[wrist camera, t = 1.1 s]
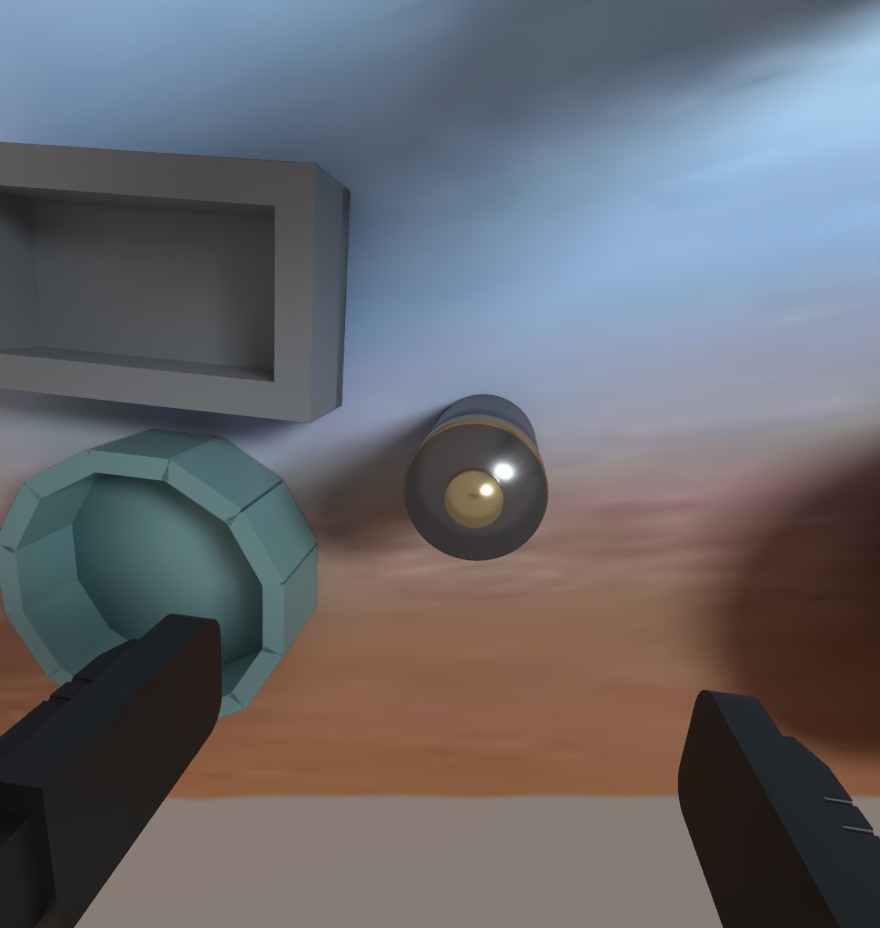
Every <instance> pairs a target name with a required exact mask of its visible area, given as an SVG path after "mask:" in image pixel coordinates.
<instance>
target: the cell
mask: <svg viewBox="0 0 880 928" xmlns="http://www.w3.org/2000/svg"><path fill="white" fill-rule="evenodd" d="M404 497H405V503H406V507H407V511H408V514H409V516H410V519H411V521H412V523H413V524H414V526H415V528H416V529H417V531H418V532H419V533H420V535H421V536H422V537H423V538H424V539H425V540H426V541H427V542H428V543H430V544H431V545H432V546H433V547H435V548H436V549H438V550H440V551H441V552H443V553H446V554H448V555H450V556H453V557H456V558H459V559H465V560H474V561H480V560H490V559H495V558H498V557H502V556H504V555H507V554H509V553H511V552H513V551H514V550H516V549H518V548H519V547H521V546H522V545H523V544H524V543H526V542H527V541H528V540H529V538H530V537H531V536H532V535H533V534H534V532H535V531H536V530H537V528H538V527H539V525H540V523H541V521H542V519H543V517H544V514H545V511H546V507H547V503H548V482H547V477H546V473H545V469H544V465H543V461H542V459H541V456H540V453H539V450H538V446H537V442H536V438H535V433H534V430H533V427H532V425H531V423H530V421H529V419H528V418H527V416H526V415H525V414H524V413H523V411H522V410H521V409H520V408H519V407H517V406H516V405H515V404H513V403H512V402H510V401H508V400H506V399H504V398H502V397H498V396H495V395H488V394H479V395H472V396H468V397H465V398H463V399H460V400H459V401H457V402H455V403H454V404H452V405H451V406H449V407H448V408H447V409H446V410H445V411H444V412H443V414H442V415H441V416H440V418H439V419H438V421H437V422H436V424H435V426H434V427H433V429H432V430H431V432H430V433H429V434H428V436H427V437H426V438H425V439H424V440H423V442H422V443H421V445H420V446H419V448H418V449H417V451H416V452H415V454H414V456H413V457H412V459H411V461H410V463H409V466H408V468H407V472H406V475H405V482H404Z"/></svg>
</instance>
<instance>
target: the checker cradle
mask: <svg viewBox="0 0 880 928" xmlns="http://www.w3.org/2000/svg"><path fill="white" fill-rule="evenodd" d="M349 200H350V190H348V189H347V188H346V187H345V186H343V185H342V184H341V183H340V182H338V181H337V180H336V179H335V178H333V177H332V176H331V175H330V174H328V173H327V172H326V171H325V170H323V169H322V168H321V167H319V166H318V165H317V164H316V163H302V162H288V161H273V160H258V159H243V158H229V157H214V156H199V155H184V154H169V153H155V152H140V151H125V150H110V149H96V148H81V147H66V146H51V145H36V144H22V143H7V142H0V389H7V390H16V391H25V392H34V393H43V394H52V395H61V396H70V397H80V398H89V399H98V400H107V401H116V402H125V403H134V404H143V405H152V406H161V407H170V408H179V409H188V410H197V411H206V412H215V413H224V414H233V415H242V416H251V417H260V418H269V419H278V420H287V421H296V422H305V423H311V422H313V421H314V420H316V419H318V418H320V417H322V416H323V415H325V414H327V413H329V412H331V411H332V410H334V409H336V408H338V407H340V406H342V384H343V358H344V332H345V306H346V279H347V253H348V227H349Z"/></svg>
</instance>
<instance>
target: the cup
mask: <svg viewBox="0 0 880 928" xmlns="http://www.w3.org/2000/svg"><path fill="white" fill-rule="evenodd" d="M281 480H282V478H281V477H279V476H278V475H276V474H275V473H273V472H272V471H271V470H269V469H268V468H266V467H265V466H263V465H262V464H260V463H259V462H258V461H256V460H255V459H253V458H252V457H250V456H249V455H247V454H246V453H245V452H243V451H242V450H240V449H239V448H237V447H236V446H235V445H233V444H232V443H230V442H229V441H227V440H226V439H224V438H220V436H211V435H202V434H194V433H185V432H176V431H167V430H159V429H150V430H147V431H144V432H141V433H138V434H135V435H131V436H128V437H125V438H122V439H119V440H116V441H113V442H110V443H107V444H103V445H100V446H97V447H94V448H91V449H88V450H85V451H83V452H81V453H79V454H77V455H75V456H73V457H71V458H69V459H67V460H66V461H64V462H62V463H60V464H58V465H56V466H54V467H52V468H50V469H48V470H46V471H44V472H42V473H40V474H38V475H36V476H34V477H32V478H30V479H28V480H26V481H25V483H22V486H21V488H20V490H19V492H18V494H17V496H16V498H15V501H14V503H13V505H12V507H11V509H10V511H9V513H8V515H7V518H6V520H5V522H4V524H3V526H2V528H1V530H0V585H1V592H2V599H3V605H4V612H5V613H6V614H8V615H6V617H7V618H8V620H9V621H10V623H11V624H12V626H13V627H14V629H15V630H16V632H17V633H18V635H19V636H20V637H21V639H22V640H23V642H24V643H25V645H26V646H27V648H28V649H29V651H30V652H31V654H32V655H33V656H34V658H35V659H36V661H37V662H38V664H39V665H40V667H41V668H42V670H43V671H44V673H45V674H46V675H47V676H49V675H51V676H50V678H49V679H51V680H52V681H54V682H56V683H57V684H59V685H60V686H62V685H63V684H65V683H66V682H67V681H68V682H71V681H72V678H73V676H74V675H75V674H77V673H78V672H79V671H80V670H81V669H83V668H84V667H85V666H86V665H87V664H89V663H90V662H91V661H92V660H93V659H95V658H96V657H97V656H98V655H100V654H102V653H104V652H106V651H108V650H110V649H112V648H114V647H116V646H118V645H120V644H122V643H124V642H126V641H128V640H131V639H138V640H139V639H140V638H141V637H143V636H144V635H145V634H146V633H147V632H148V631H149V630H151V629H152V628H153V627H154V626H155V625H156V624H157V623H158V622H160V621H161V620H162V619H163V618H164V617H166V616H167V615H169V614H172V613H175V614H182V615H189V616H196V617H203V618H210V619H215V620H217V622H218V623H219V626H220V632H221V667H222V703H221V708H220V712H219V716H218V718H221V717H224V716H227V715H230V714H233V713H236V712H239V711H242V710H244V709H245V708H247V706H248V705H249V703H250V702H251V701H252V699H253V698H254V697H255V695H256V694H257V692H258V691H259V690H260V688H261V687H262V686H263V684H264V683H265V681H266V680H267V679H268V677H269V676H270V675H271V673H272V672H273V670H274V669H275V668H276V666H277V665H278V663H279V662H280V661H281V659H282V658H283V656H284V655H285V653H286V652H287V650H288V649H289V647H290V646H291V644H292V643H293V641H294V640H295V638H296V637H297V635H298V633H299V632H300V630H301V629H302V627H303V626H304V624H305V623H306V621H307V620H308V618H309V617H310V615H311V613H312V612H313V610H314V609H315V606H316V587H317V551H318V544H316V542H317V541H316V539H315V537H314V535H313V533H312V531H311V530H310V528H309V526H308V524H307V522H306V520H305V518H304V516H303V515H302V513H301V511H300V509H299V507H298V505H297V503H296V502H295V500H294V498H293V496H292V494H291V492H290V490H289V489H288V487H287V485H286V483H285V481H283V482H281ZM280 482H281V483H280Z"/></svg>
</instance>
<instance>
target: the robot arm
mask: <svg viewBox="0 0 880 928" xmlns="http://www.w3.org/2000/svg"><path fill="white" fill-rule="evenodd" d="M221 703H222V667H221V632H220V626H219V623H218V622H217V620H215V619H210V618H203V617H196V616H189V615H182V614H175V613H172V614H169V615H167V616H166V617H164V618H163V619H162V620H161V621H160V622H158V623H157V624H156V625H155V626H154V627H153V628H152V629H151V630H149V631H148V632H147V633H146V634H145V635H144V636H143V637H141V638H140V639H139V640H138V639H131V640H128V641H126V642H124V643H122V644H120V645H118V646H116V647H114V648H112V649H110V650H108V651H106V652H104V653H102V654H100V655H98V656H97V657H96V658H95V659H93V660H92V661H91V662H90V663H89V664H87V665H86V666H85V667H84V668H83V669H81V670H80V671H79V672H78V673H77V674H75V675H74V676H73V678H72V681H71V682H68V681H67V682H66V683H65V684H63V685H62V686H61V687H60V688H59V689H57V690H56V691H55V692H54V693H53V694H51V695H50V698H49V700H48V701H43V702H42V703H40V704H39V705H38V706H37V707H36V708H34V709H33V710H32V711H31V712H30V713H28V714H27V715H26V716H25V717H24V718H22V719H21V720H20V721H19V722H18V723H16V724H15V725H14V726H13V727H12V728H10V729H9V730H8V731H7V732H6V733H4V734H3V735H2V736H1V737H0V928H74V927H75V925H76V924H77V922H78V921H79V920H80V918H81V917H82V915H83V914H84V913H85V911H86V910H87V908H88V907H89V905H90V904H91V903H92V901H93V900H94V898H95V897H96V896H97V894H98V893H99V891H100V890H101V889H102V887H103V886H104V884H105V883H106V881H107V880H108V879H109V877H110V876H111V874H112V873H113V871H114V870H115V869H116V867H117V866H118V864H119V863H120V862H121V860H122V859H123V857H124V856H125V855H126V853H127V852H128V850H129V849H130V847H131V846H132V845H133V843H134V842H135V840H136V839H137V838H138V836H139V834H140V833H141V832H142V831H143V829H144V828H145V826H146V825H147V823H148V822H149V821H150V819H151V818H152V816H153V815H154V814H155V812H156V811H157V809H158V808H159V806H160V805H161V804H162V802H163V801H164V799H165V798H166V797H167V795H168V794H169V792H170V791H171V790H172V788H173V787H174V785H175V784H176V782H177V781H178V780H179V778H180V777H181V775H182V774H183V773H184V771H185V770H186V768H187V767H188V765H189V764H190V763H191V761H192V760H193V758H194V757H195V756H196V754H197V753H198V751H199V750H200V748H201V747H202V746H203V744H204V743H205V741H206V740H207V739H208V737H209V736H210V734H211V732H212V730H213V728H214V726H215V724H216V721H217V719H218V716H219V712H220V708H221ZM678 794H679V801H680V806H681V811H682V814H683V817H684V820H685V822H686V825H687V828H688V831H689V834H690V836H691V839H692V842H693V845H694V848H695V850H696V853H697V856H698V859H699V861H700V864H701V867H702V870H703V873H704V876H705V878H706V881H707V884H708V887H709V889H710V892H711V895H712V898H713V901H714V903H715V906H716V909H717V912H718V914H719V917H720V920H721V923H722V926H723V928H880V838H879V836H874V834H873V828H872V827H871V825H870V824H869V822H868V821H867V820H866V818H865V817H864V816H863V814H862V813H861V811H860V810H859V809H858V807H856V806H853V805H852V799H851V797H850V796H849V795H848V793H847V792H846V791H845V789H844V788H843V786H842V785H841V784H840V782H839V781H838V779H837V778H836V777H835V775H834V774H833V773H832V771H831V770H830V768H829V767H828V766H827V765H826V764H825V763H823V762H822V761H821V760H820V759H819V758H818V757H816V756H815V755H814V754H813V753H812V752H811V751H809V750H808V749H807V748H806V747H805V746H804V745H802V744H801V743H800V742H799V741H798V740H797V739H795V738H794V737H788V736H783V735H782V734H781V732H780V731H779V729H778V728H777V726H776V725H775V723H774V722H773V720H772V719H771V717H770V716H769V714H768V713H767V711H766V710H765V708H764V707H763V705H762V704H761V703H760V701H759V700H758V699H756V698H755V697H751V696H744V695H737V694H730V693H723V692H716V691H709V690H702V691H701V692H700V693H699V694H698V696H697V698H696V702H695V705H694V709H693V713H692V717H691V722H690V726H689V730H688V734H687V738H686V742H685V746H684V750H683V754H682V758H681V762H680V767H679V773H678Z"/></svg>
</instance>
